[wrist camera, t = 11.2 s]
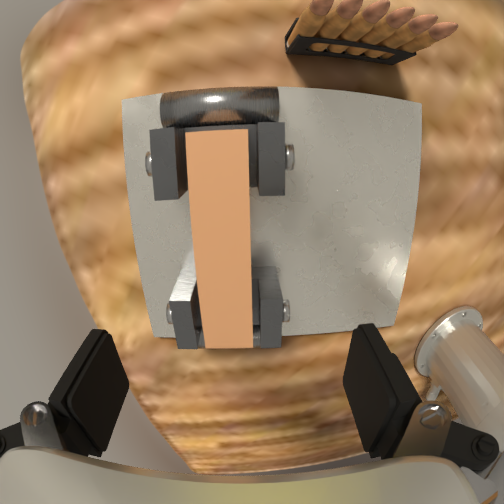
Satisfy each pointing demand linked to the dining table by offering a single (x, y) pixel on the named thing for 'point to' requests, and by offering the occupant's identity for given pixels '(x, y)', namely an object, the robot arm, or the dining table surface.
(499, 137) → the dining table surface
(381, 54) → the ammunition clip
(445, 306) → the dining table surface
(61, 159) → the dining table surface
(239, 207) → the bar
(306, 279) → the plate with roller
